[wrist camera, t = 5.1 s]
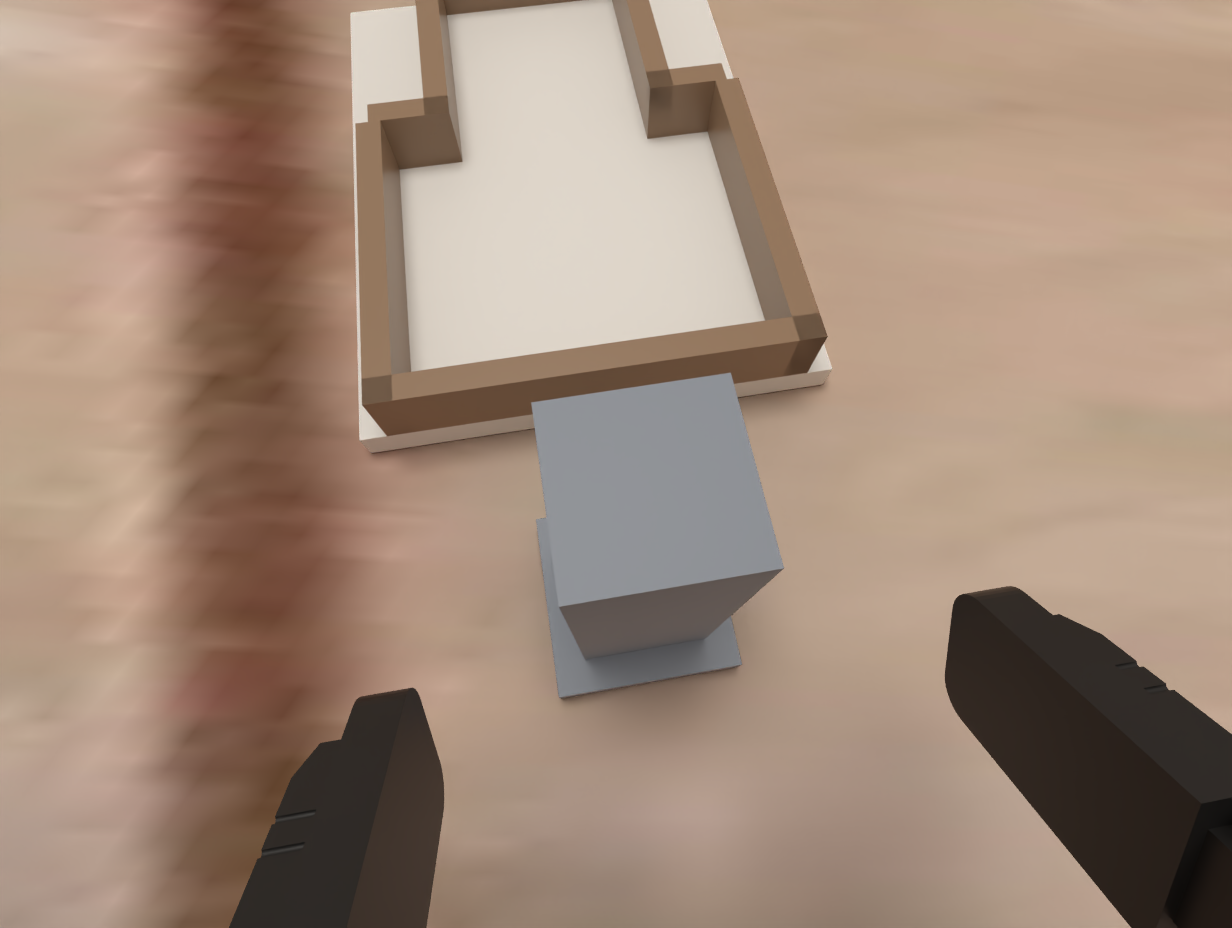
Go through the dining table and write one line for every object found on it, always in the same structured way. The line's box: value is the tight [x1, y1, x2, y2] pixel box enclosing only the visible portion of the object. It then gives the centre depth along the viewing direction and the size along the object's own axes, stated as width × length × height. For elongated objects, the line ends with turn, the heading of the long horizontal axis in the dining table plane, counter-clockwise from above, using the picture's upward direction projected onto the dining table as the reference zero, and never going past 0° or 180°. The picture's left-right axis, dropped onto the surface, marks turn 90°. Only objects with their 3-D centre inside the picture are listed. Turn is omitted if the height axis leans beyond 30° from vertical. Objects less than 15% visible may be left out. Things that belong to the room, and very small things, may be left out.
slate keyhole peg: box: [531, 373, 784, 698], centre depth 17 cm, size 6×6×12 cm
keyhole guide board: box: [351, 0, 832, 453], centre depth 28 cm, size 18×24×4 cm
